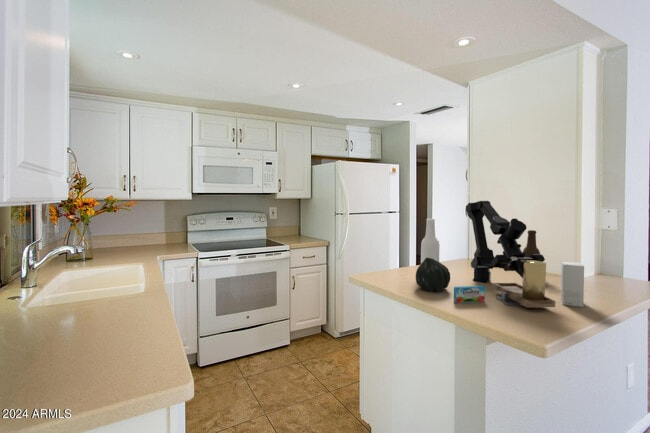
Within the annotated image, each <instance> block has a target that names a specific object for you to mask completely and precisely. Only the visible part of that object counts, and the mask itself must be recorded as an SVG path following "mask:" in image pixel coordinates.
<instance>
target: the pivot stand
mask: <svg viewBox="0 0 650 433" xmlns="http://www.w3.org/2000/svg"><path fill="white" fill-rule="evenodd" d="M495 299H496V300H498V301H499V302H501V303H503V304H504V305H506V306H523V305H522V304H520V303H518V302H516V301H515V300H513V299H511V298H509V297H508V293H506V292H502V293H501V296H496V298H495Z"/></svg>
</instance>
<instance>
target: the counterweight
mask: <svg viewBox="0 0 650 433" xmlns="http://www.w3.org/2000/svg"><path fill="white" fill-rule="evenodd" d="M546 275H547V263H546V262H545V261H543V262H541V261H534V260H525V261H524V265H523V278H522V286H523V288H522V298H524V299H526V300H544V299H545V294H546V278H547V276H546Z"/></svg>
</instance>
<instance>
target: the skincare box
mask: <svg viewBox="0 0 650 433" xmlns="http://www.w3.org/2000/svg"><path fill="white" fill-rule="evenodd" d="M560 268H561V272H560V273H561V274H560V275H561V279H560V281H561V282H560V285H561V287H560V288H561V289H560V300H561V303H562V305H563V306H568V307H569V306H570V307H577V308H578V307H579V308H583V307H584V299H585V298H584V295H585V294H584V291H585V289H584V288H585V287H584V286H585V284H584V283H585V266H584V264H583V263H582V262H577V261H575V262H574V261H561V267H560Z"/></svg>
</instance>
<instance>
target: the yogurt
mask: <svg viewBox="0 0 650 433" xmlns="http://www.w3.org/2000/svg"><path fill="white" fill-rule="evenodd" d="M484 302H486V287H485V286H483V285H467V286H466V285H465V286H464V285H463V286H453V303H455V304H465V303H466V304H468V303H470V304H471V303H473V304H474V303H484Z"/></svg>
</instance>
